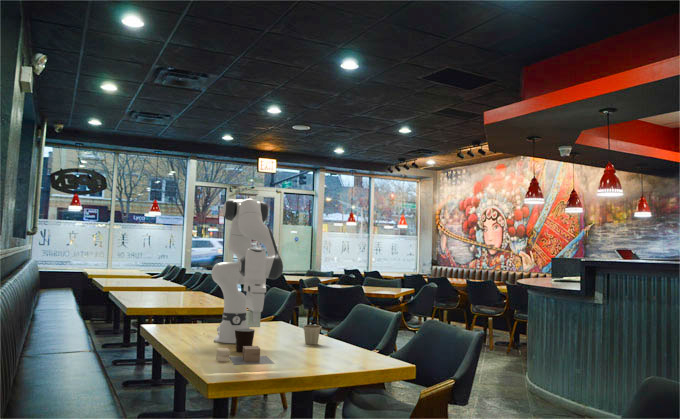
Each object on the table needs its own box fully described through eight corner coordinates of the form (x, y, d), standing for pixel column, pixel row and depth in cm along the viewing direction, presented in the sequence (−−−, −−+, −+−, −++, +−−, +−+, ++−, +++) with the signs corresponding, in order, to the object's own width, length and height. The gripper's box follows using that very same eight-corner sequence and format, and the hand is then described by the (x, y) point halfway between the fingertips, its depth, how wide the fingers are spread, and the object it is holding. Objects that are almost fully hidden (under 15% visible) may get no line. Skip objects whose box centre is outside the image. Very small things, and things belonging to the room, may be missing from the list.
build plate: (228, 358, 218) (228, 356, 218) (266, 357, 223) (266, 355, 223) (233, 366, 203) (233, 364, 203) (274, 365, 208) (274, 363, 208)
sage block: (245, 325, 216) (246, 310, 216) (257, 325, 217) (258, 310, 218) (247, 327, 211) (248, 312, 212) (260, 327, 213) (260, 312, 213)
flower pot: (320, 345, 257) (321, 327, 258) (301, 345, 257) (302, 327, 258) (321, 342, 267) (322, 325, 267) (302, 341, 267) (303, 324, 267)
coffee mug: (249, 355, 227) (250, 331, 228) (230, 353, 228) (231, 330, 229) (258, 350, 238) (259, 328, 239) (240, 349, 240) (242, 327, 241)
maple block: (216, 361, 213) (217, 348, 213) (227, 360, 214) (228, 348, 215) (217, 363, 209) (218, 350, 209) (229, 363, 210) (229, 350, 210)
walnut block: (242, 358, 215) (243, 346, 215) (256, 358, 217) (257, 346, 217) (244, 361, 209) (245, 349, 210) (259, 361, 211) (260, 348, 212)
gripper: (243, 285, 224) (241, 318, 223) (251, 288, 205) (249, 324, 204) (257, 285, 227) (256, 317, 225) (267, 288, 207) (265, 324, 206)
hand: (253, 321), depth 215 cm, fingers closed on sage block, 5 cm apart
